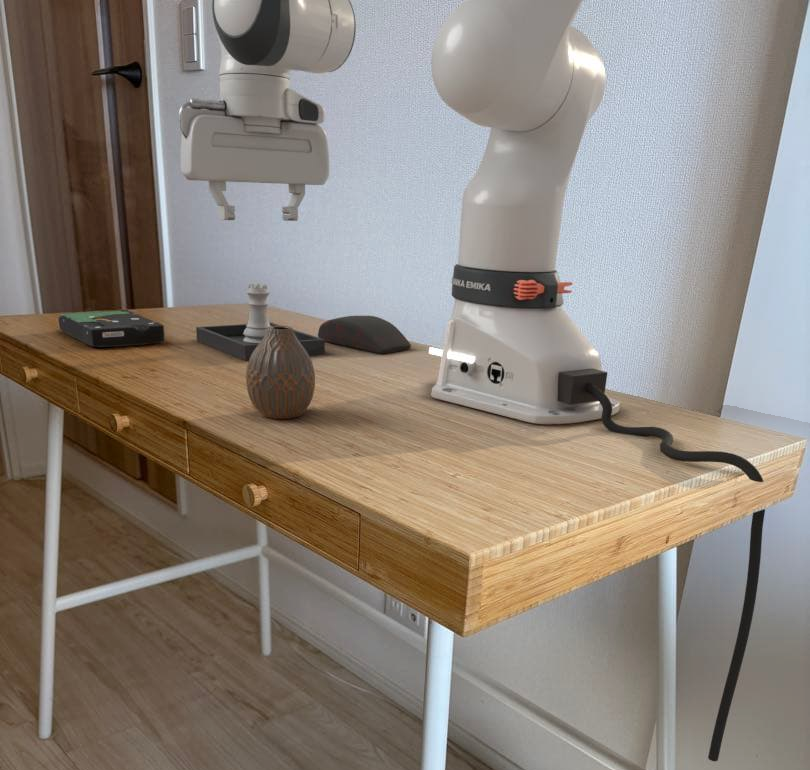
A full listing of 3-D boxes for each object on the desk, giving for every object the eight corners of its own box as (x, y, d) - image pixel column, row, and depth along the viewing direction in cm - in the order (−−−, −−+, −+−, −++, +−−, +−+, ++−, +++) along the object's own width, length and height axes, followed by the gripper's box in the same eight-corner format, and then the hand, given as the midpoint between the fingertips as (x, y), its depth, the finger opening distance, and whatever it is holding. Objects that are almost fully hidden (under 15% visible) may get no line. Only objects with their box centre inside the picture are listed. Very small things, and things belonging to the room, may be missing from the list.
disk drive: (167, 345, 117) (127, 326, 127) (166, 324, 116) (125, 308, 126) (93, 350, 111) (57, 331, 121) (91, 329, 110) (55, 311, 120)
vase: (276, 427, 81) (275, 335, 78) (233, 412, 85) (230, 325, 82) (328, 415, 86) (329, 329, 82) (285, 402, 90) (284, 319, 86)
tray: (324, 353, 116) (324, 339, 115) (245, 360, 109) (245, 345, 108) (271, 335, 127) (271, 322, 126) (196, 341, 120) (196, 327, 119)
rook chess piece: (278, 341, 120) (277, 284, 116) (270, 347, 115) (269, 287, 112) (247, 339, 120) (246, 282, 117) (239, 345, 116) (237, 285, 113)
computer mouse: (348, 335, 130) (349, 309, 129) (415, 349, 122) (416, 321, 121) (311, 340, 125) (311, 313, 123) (378, 355, 117) (379, 326, 115)
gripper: (188, 95, 98) (196, 220, 103) (335, 109, 109) (335, 222, 115) (167, 98, 102) (176, 218, 108) (310, 112, 114) (311, 220, 119)
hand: (259, 220), depth 111 cm, fingers open, 8 cm apart
